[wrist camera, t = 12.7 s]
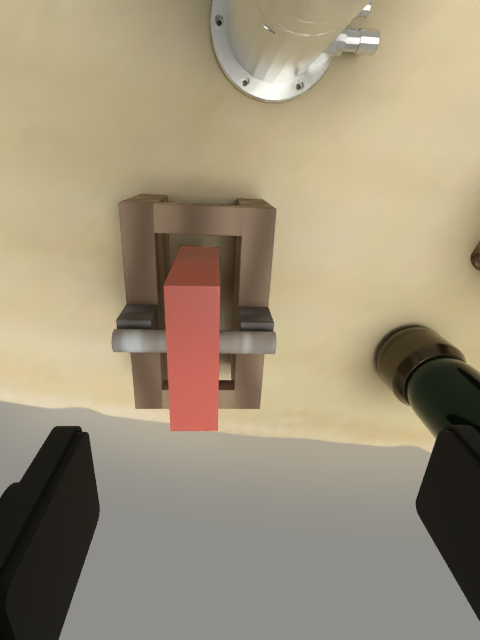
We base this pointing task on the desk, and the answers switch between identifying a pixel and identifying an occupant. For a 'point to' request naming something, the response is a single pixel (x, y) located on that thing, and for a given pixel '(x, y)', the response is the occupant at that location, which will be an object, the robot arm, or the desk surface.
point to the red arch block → (193, 338)
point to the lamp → (431, 378)
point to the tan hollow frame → (148, 293)
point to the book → (476, 257)
